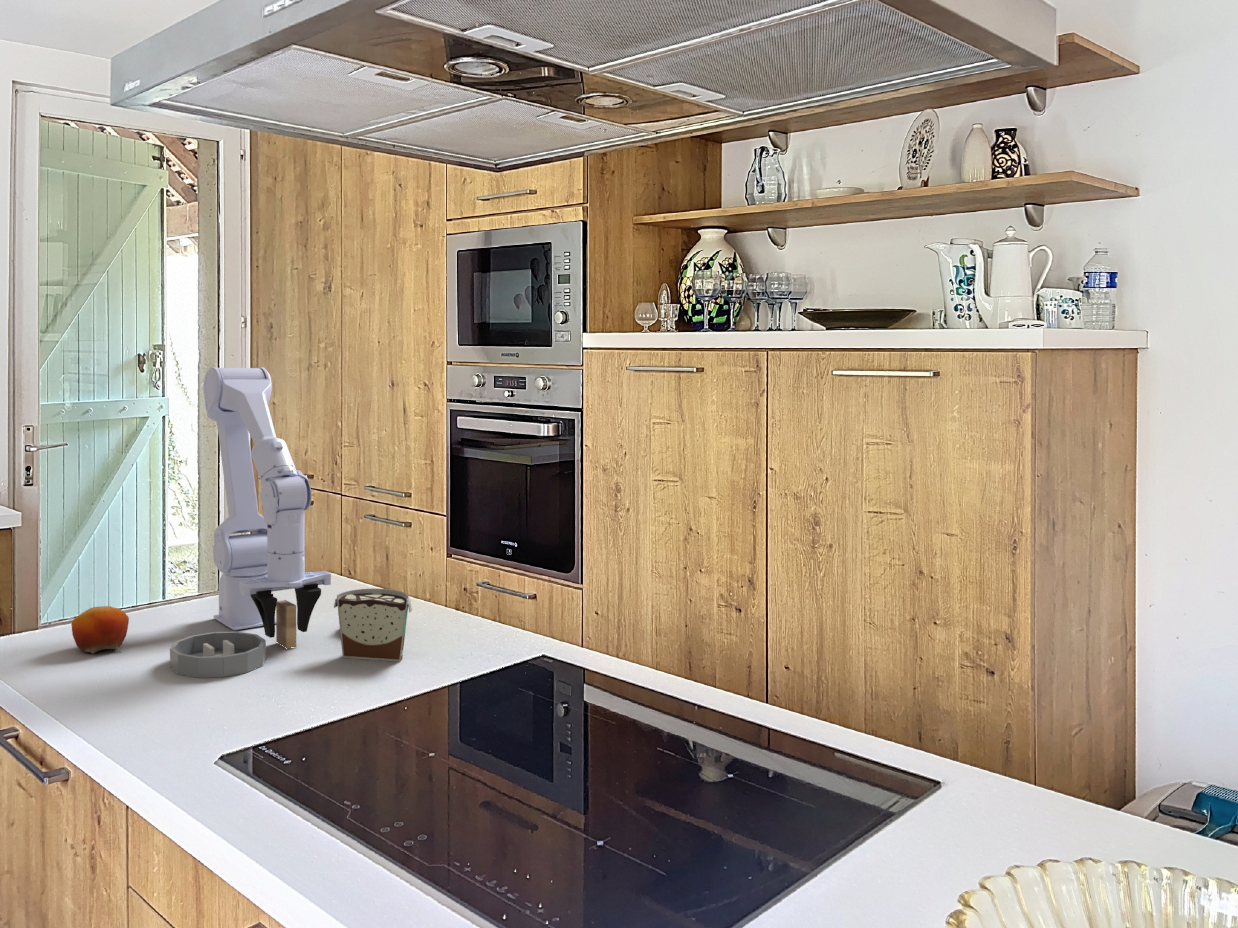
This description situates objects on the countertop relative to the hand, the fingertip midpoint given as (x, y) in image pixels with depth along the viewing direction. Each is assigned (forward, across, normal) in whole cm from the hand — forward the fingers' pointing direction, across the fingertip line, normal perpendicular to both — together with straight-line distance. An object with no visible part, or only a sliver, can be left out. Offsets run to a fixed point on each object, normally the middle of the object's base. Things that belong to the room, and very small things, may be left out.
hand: (286, 633), depth 170 cm
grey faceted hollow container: (+2, -12, -3) cm, 13 cm away
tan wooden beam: (+2, 0, 0) cm, 2 cm away
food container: (+2, +10, -12) cm, 16 cm away
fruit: (+2, -24, +14) cm, 28 cm away
